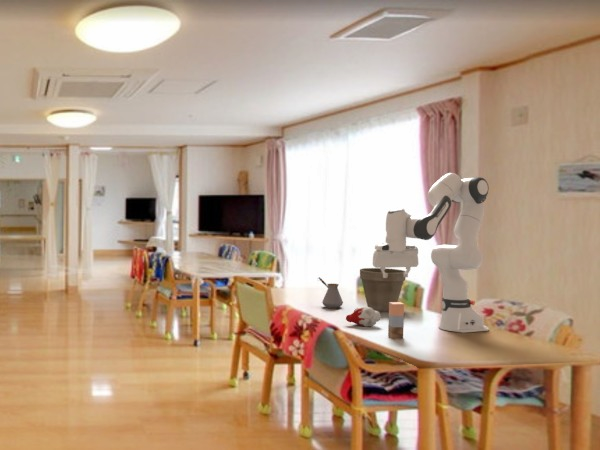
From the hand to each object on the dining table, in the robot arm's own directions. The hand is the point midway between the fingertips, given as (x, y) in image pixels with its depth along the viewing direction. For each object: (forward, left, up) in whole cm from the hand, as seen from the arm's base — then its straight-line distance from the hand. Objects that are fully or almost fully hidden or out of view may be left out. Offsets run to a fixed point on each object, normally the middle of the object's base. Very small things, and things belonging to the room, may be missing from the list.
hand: (395, 277), depth 272 cm
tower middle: (+1, +4, -21) cm, 21 cm away
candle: (+8, -24, -26) cm, 36 cm away
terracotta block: (+1, +4, -16) cm, 16 cm away
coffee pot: (+11, -79, -26) cm, 83 cm away
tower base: (+1, +4, -26) cm, 26 cm away
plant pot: (-16, -65, -26) cm, 71 cm away
